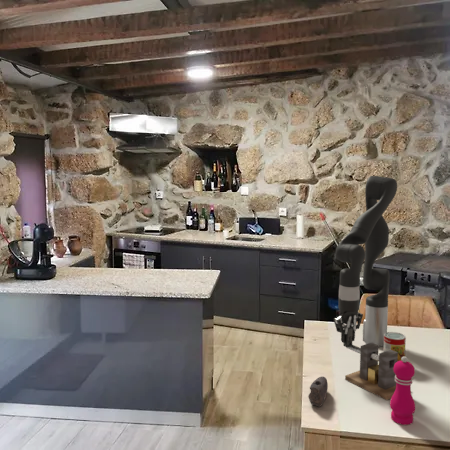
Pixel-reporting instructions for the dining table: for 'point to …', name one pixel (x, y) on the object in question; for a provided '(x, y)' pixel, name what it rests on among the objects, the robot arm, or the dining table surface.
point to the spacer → (373, 374)
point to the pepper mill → (403, 393)
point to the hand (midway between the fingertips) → (347, 341)
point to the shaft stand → (386, 373)
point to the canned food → (395, 343)
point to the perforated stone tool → (318, 391)
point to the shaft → (355, 348)
